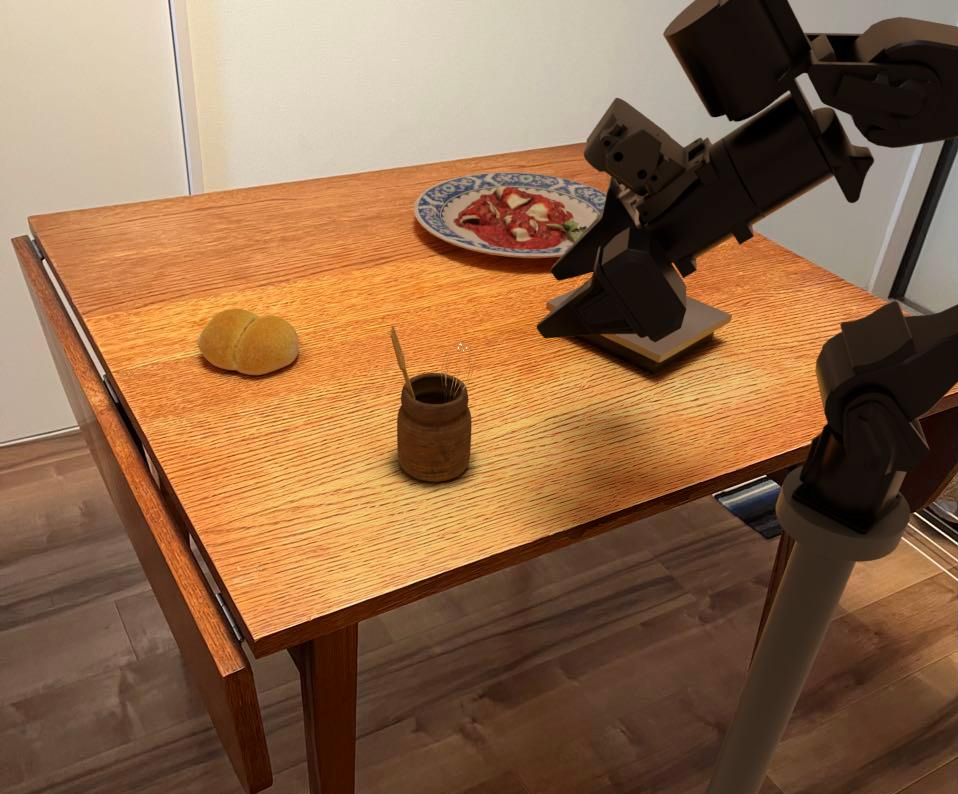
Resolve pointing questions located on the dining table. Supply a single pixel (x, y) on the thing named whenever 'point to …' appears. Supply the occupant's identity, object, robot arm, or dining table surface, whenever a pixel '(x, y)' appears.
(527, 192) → the ceramic plate
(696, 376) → the dining table surface
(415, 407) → the utensil holder
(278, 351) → the bread roll
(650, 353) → the platform
